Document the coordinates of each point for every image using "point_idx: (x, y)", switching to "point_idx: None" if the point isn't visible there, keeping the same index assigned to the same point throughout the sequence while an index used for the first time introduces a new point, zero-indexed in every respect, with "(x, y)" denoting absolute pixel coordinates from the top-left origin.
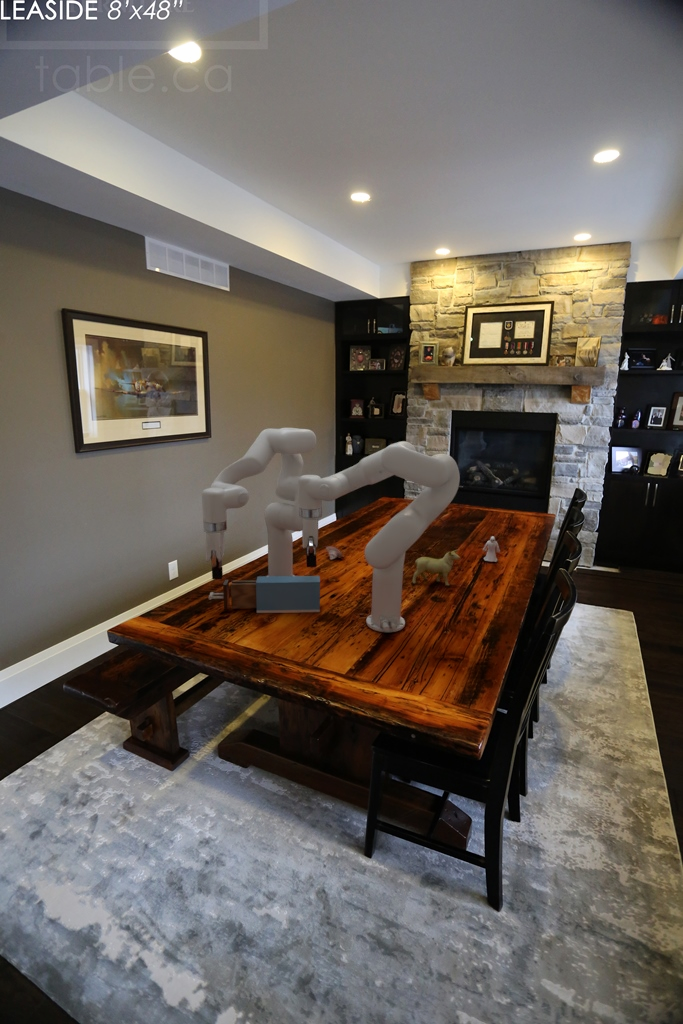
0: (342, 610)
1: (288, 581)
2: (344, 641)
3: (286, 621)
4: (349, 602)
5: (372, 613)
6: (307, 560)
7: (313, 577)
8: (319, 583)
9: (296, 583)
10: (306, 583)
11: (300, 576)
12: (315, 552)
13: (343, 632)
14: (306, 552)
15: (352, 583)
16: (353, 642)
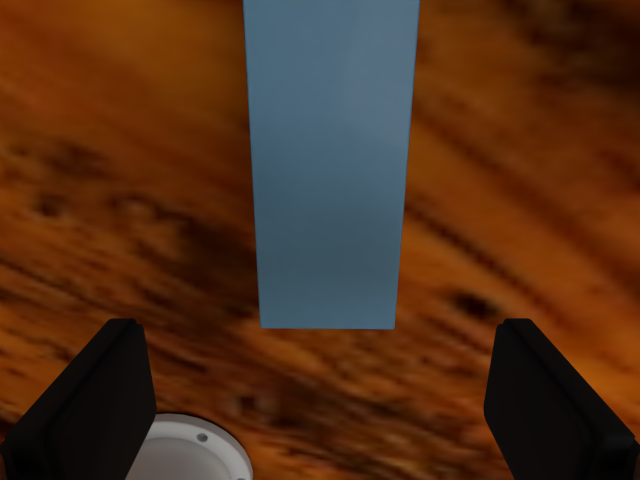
0: (302, 336)
1: (268, 59)
2: (7, 323)
3: (164, 56)
4: (388, 370)
5: (135, 474)
6: (67, 383)
7: (360, 284)
8: (261, 318)
9: (253, 139)
10: (256, 224)
11: (393, 176)
12: (515, 466)
13: (85, 325)
14: (541, 357)
15: (613, 401)
16: (7, 353)
